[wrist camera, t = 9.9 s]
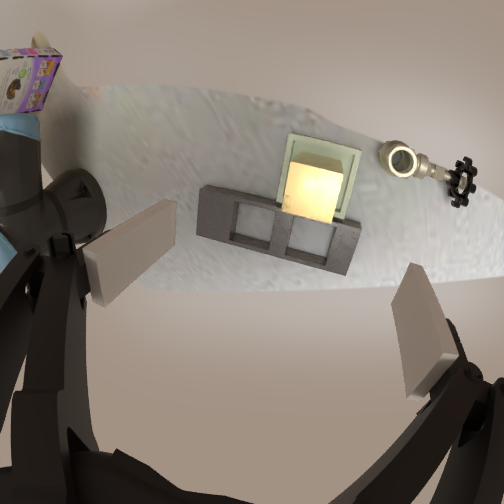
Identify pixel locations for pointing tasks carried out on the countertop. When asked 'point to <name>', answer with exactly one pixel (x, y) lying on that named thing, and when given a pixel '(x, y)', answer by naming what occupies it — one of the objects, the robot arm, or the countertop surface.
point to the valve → (429, 170)
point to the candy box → (26, 78)
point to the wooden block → (313, 186)
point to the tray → (327, 149)
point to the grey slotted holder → (224, 224)
